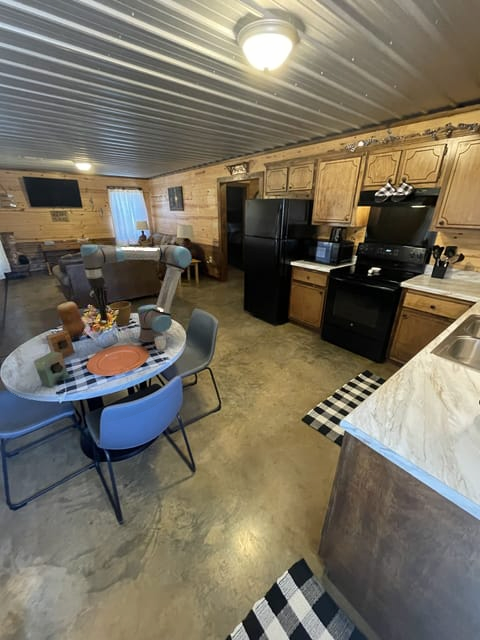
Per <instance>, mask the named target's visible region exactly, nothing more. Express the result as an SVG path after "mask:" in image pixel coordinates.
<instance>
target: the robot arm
mask: <svg viewBox="0 0 480 640" xmlns="http://www.w3.org/2000/svg"><path fill="white" fill-rule="evenodd" d="M79 249H80V254H81V255H80V256H81V260H82V262H83V263H82V264H83V267H84V271H85V275H86V277H87V278H86V281H87V284H88V286H89V287H90V293H88V294H87V295H88V297H89V298H90V301H91V302H92V305H93V307H94V309H95V310H96V311H98V312H99V315H100V319H101V322H102V321H103V322H107V321H108V320H109V318H108V314H107V313H108V312H107V309H109V299H108V297H109V296H108V291H109V288H108V286H105V284H106V281H105V277H104V270H103V266H102V265H105V264H112V263H113V264H114V263H121V262H123V261H124V262H125V260H130V261H131V260H139V261H140V260H142V261H143V260H145V261H147V260H148V261H152V260H153V261H155V262H161V263H165V267H166V271H165V275H164V278H163V281H162V284H161V288H160V291H159V295H158V297H157V301H156V304H147V305H142V306H140V307H138V308H137V315H138V319H139V320H138V321H139V327H140V331H139V337H138V338H139V342H141V343H144V344H152V343H155V340H154V338H155V337H157V336H164V335H163V333H165V332H166V331H168V330H169V329H171V327H172V323H173V320H172V318H171V315H172V311H171V307H172V303H173V300H174V297H175V294H176V291H177V288H178V283H179V281H180V278H181V275H182V273H184V272H185V271H186V268H187V267H189V266H190V265H191V263H192V253H191V252H190V250H189V249H188V248H186V247H184V246H181V245H174V244H173V245H172V244H164V245H154V246H134V245H133V246H131V245H109V244H105V245H104V244H83V245H81V246H80V248H79Z"/></svg>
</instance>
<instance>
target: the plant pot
mask: <svg viewBox="0 0 480 640" xmlns="http://www.w3.org/2000/svg"><path fill="white" fill-rule="evenodd" d="M109 307H110V308H111V309H112V310H119V315H118V317H117V320H116V321H115V322H116V324H117V325H118V327H126V326H128V325H130V321H131V313H132V304H131V302H129V301H117V302H114V303H110V304H109V305H108V308H109Z"/></svg>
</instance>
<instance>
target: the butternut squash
mask: <svg viewBox="0 0 480 640" xmlns="http://www.w3.org/2000/svg"><path fill="white" fill-rule="evenodd" d="M56 313H57V315H58V317H59V319H60V321H61V323H62V325H61V326H62V327H61V331H62V330H65V331H67V332H69V334H70V337H71V339H76V338H80V337H81V336H82V334H83V333H84V332H85V330H86V324H85V323H84V322H83V320H82V316H81V313H80V309H79V306H78V305H77V303H75V302H74V301H67V302H63V303H61V304H59V305H57V306H56ZM84 329H85V330H84Z"/></svg>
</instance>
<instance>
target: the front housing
mask: <svg viewBox="0 0 480 640" xmlns="http://www.w3.org/2000/svg"><path fill="white" fill-rule="evenodd" d="M33 364H34V367H35V369H36V372H37V375H38V378H39V381H40V384H41V385H42V386H44V387H49V388H53V387H54V386H56V385H57V384H59V383H60V382H62V381H63V380H65V379H67V378H68V377H69V371H68V368H67V366H66V363H65V359H64V357H63V356H62V353H59V352H54V351H52V352H51V351H50V352H49V353H47V354H45V355H42V356H41V357H39V358H36V359H35V360H33ZM54 364H58V365H62V366H63V370H62V372H60V373H56V372H52V370H51V367H52V366H53V365H54Z"/></svg>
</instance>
